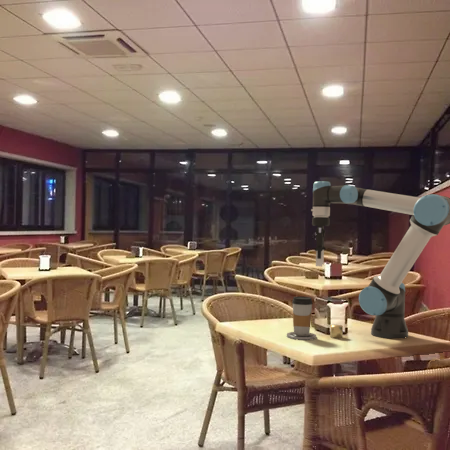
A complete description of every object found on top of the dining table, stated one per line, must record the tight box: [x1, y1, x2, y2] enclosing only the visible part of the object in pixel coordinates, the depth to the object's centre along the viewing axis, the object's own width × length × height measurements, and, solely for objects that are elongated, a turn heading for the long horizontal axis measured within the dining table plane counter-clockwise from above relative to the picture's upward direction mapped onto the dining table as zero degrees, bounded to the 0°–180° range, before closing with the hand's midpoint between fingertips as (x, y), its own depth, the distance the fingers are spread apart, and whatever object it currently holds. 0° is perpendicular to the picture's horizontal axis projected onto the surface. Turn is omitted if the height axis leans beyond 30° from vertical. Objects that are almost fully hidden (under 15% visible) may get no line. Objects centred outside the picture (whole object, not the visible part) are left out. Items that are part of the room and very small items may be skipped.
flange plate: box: [286, 331, 317, 341], centre depth 218 cm, size 12×12×1 cm
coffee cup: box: [291, 296, 313, 336], centre depth 218 cm, size 8×8×15 cm
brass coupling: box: [329, 324, 344, 340], centre depth 218 cm, size 5×5×5 cm
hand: (319, 265), depth 232 cm, fingers open, 13 cm apart
